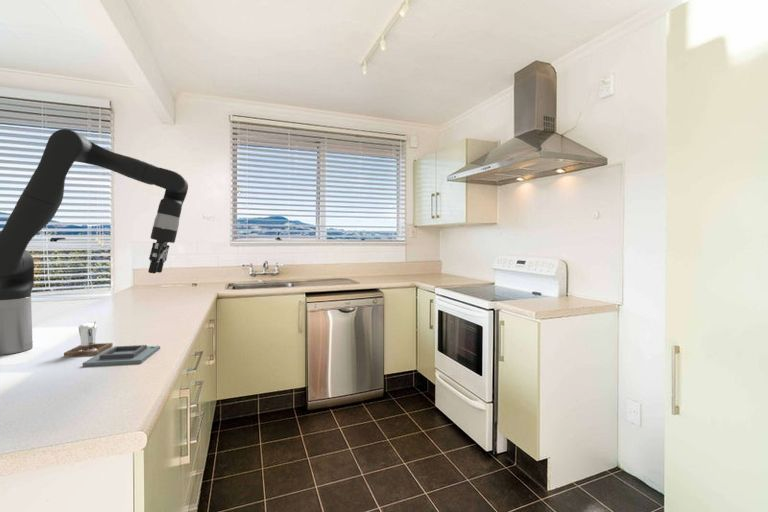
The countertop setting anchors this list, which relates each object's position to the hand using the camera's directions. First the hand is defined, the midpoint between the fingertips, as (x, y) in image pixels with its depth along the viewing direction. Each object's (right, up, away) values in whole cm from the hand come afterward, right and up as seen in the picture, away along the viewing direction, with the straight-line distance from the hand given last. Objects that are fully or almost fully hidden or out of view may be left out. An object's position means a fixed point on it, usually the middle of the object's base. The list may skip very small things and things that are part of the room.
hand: (155, 272), depth 124 cm
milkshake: (-15, -25, -10) cm, 31 cm away
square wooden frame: (-15, -25, -10) cm, 31 cm away
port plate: (0, -26, -14) cm, 29 cm away
